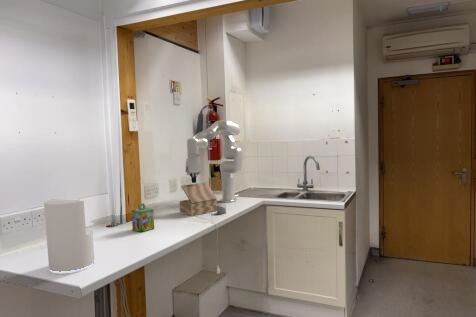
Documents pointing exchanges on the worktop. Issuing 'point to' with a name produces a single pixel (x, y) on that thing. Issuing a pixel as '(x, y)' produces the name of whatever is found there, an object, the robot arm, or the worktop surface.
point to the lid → (198, 192)
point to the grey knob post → (221, 209)
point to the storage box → (197, 207)
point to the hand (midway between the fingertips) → (194, 182)
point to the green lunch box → (142, 219)
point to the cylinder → (67, 235)
